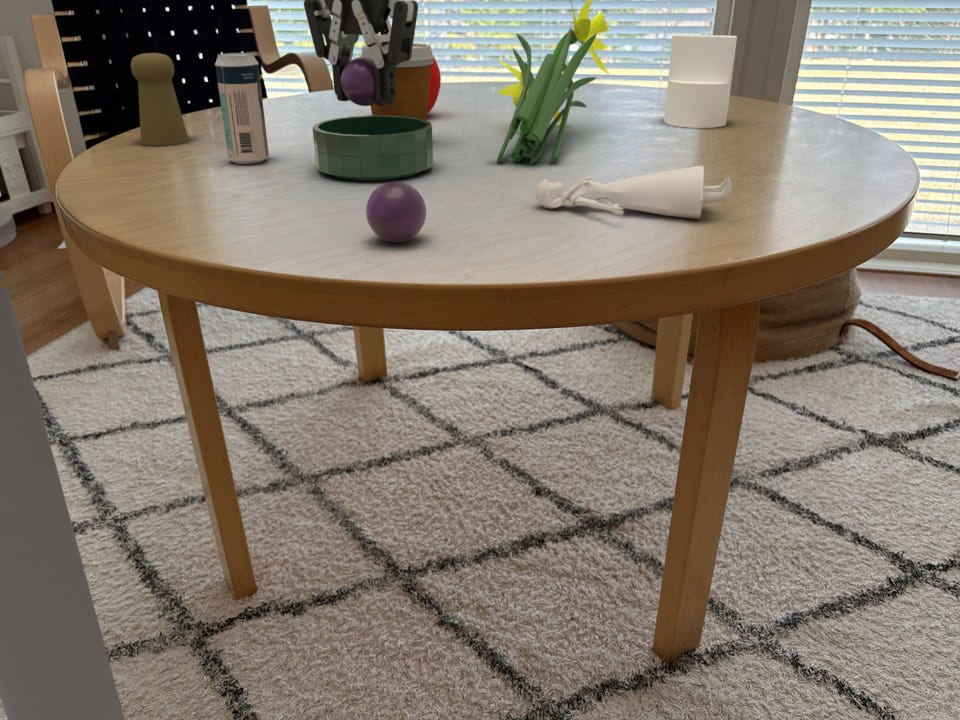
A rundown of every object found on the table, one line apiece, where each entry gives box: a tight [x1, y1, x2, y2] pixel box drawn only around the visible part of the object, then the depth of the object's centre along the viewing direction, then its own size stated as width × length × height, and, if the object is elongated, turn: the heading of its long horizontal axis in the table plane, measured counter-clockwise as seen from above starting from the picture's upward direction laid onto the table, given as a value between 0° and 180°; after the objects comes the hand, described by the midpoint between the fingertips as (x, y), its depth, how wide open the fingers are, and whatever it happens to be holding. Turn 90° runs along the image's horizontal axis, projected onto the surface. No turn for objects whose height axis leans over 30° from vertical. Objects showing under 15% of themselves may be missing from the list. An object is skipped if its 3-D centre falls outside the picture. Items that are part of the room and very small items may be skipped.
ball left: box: [341, 56, 377, 107], centre depth 88 cm, size 5×5×5 cm
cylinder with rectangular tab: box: [663, 33, 738, 129], centre depth 118 cm, size 9×9×12 cm
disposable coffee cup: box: [359, 42, 436, 121], centre depth 105 cm, size 10×10×12 cm
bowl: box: [312, 114, 434, 182], centre depth 92 cm, size 13×13×5 cm
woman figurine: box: [534, 165, 732, 220], centre depth 76 cm, size 12×4×18 cm
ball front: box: [365, 180, 427, 243], centre depth 68 cm, size 5×5×5 cm
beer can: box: [214, 52, 270, 165], centre depth 95 cm, size 5×5×12 cm
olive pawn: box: [130, 52, 190, 147], centre depth 106 cm, size 6×6×11 cm
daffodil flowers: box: [496, 0, 610, 165], centre depth 107 cm, size 17×15×35 cm
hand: (365, 101), depth 89 cm, fingers closed on ball left, 5 cm apart
